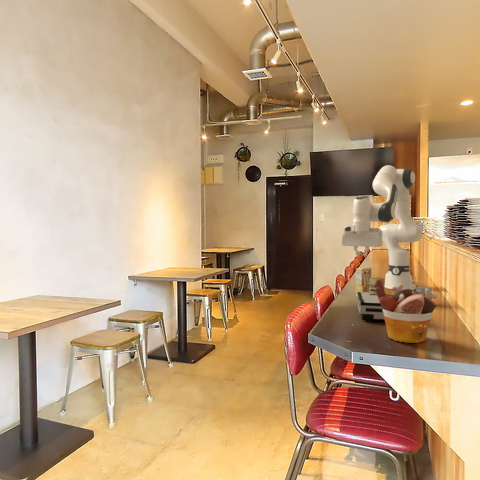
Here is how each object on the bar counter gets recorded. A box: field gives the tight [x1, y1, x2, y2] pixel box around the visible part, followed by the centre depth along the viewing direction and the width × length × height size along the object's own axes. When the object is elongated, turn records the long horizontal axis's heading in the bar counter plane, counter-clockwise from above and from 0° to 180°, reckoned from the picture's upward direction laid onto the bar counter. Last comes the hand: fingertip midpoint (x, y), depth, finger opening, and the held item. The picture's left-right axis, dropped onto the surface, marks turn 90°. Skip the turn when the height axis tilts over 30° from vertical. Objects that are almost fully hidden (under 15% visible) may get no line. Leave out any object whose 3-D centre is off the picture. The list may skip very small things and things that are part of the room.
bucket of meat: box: [375, 279, 439, 344], centre depth 133 cm, size 20×16×20 cm
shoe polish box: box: [369, 277, 385, 294], centre depth 196 cm, size 5×5×12 cm
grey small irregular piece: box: [415, 286, 433, 301], centre depth 191 cm, size 7×7×8 cm
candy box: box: [355, 266, 372, 298], centre depth 213 cm, size 9×4×15 cm, turn 129°
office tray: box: [356, 292, 395, 322], centre depth 170 cm, size 21×32×8 cm, turn 165°
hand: (361, 255), depth 201 cm, fingers open, 2 cm apart
